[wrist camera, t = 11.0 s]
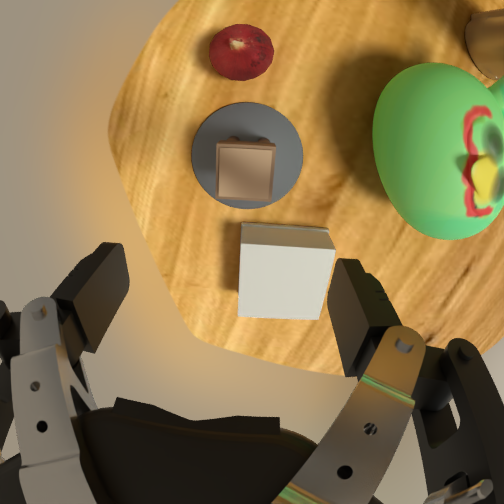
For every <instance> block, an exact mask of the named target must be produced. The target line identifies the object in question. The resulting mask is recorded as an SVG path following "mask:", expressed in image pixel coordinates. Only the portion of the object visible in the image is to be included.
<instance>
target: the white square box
mask: <svg viewBox="0 0 504 504" xmlns="http://www.w3.org/2000/svg"><path fill="white" fill-rule="evenodd" d="M335 252H336V249H335V247H334V245H333V242H332V240H331V238H330V236H329V229H328V228H320V227H307V226H294V225H280V224H266V223H251V222H242V224H241V244H240V266H239V290H238V295H239V300H238V316H240V317H257V318H278V319H308V320H318V319H319V315H320V312H321V308H322V304H323V301H324V297H325V293H326V289H327V285H328V281H329V277H330V273H331V269H332V265H333V261H334V256H335Z"/></svg>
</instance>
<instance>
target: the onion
mask: <svg viewBox="0 0 504 504" xmlns="http://www.w3.org/2000/svg"><path fill="white" fill-rule="evenodd" d="M273 55H274V48H273V45H272V42H271V39H270V37H269V36H268V35H267V34H266V33H265V32H263V31H262V30H261V29H259V28H257V27H254V26H251V25H248V24H235V25H232V26H229V27H226V28H224V29H223V30H222V31H220V32H219V33H217V34H216V35H215V36H214V38H213V40H212V42H211V43H210V50H209V57H210V60H211V63H212V66H213V67H214V68H215V69H216V70H217V72H218V73H219V74H220V75H222V76H224V77H226V78H228V79H230V80H238V81H245V80H249V79H253V78H256V77H257V76H259V75H261V74H262V73H264V72H265V71H266V70H267V68H268V67H269V66H270V64H271V63H272V60H273Z"/></svg>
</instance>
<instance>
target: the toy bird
mask: <svg viewBox="0 0 504 504" xmlns="http://www.w3.org/2000/svg"><path fill="white" fill-rule="evenodd" d="M372 139H373V151H374V157H375V162H376V167H377V170H378V174H379V177H380V179H381V182H382V185H383V187H384V189H385V191H386V194H387V196H388V197H389V199H390V201H391V203H392V204H393V206H394V207H395V209H396V210H397V212H398V213H399V214H400V215H401V216H402V218H403V219H404V220H405V221H406V222H407V223H408V224H409V225H411V226H412V227H413V228H415V229H416V230H418V231H419V232H421V233H423V234H425V235H427V236H430V237H433V238H437V239H443V240H458V239H463V238H467V237H470V236H473V235H475V234H477V233H479V232H480V231H482V230H483V229H485V228H486V227H487V226H488V225H489V224H490V223H491V222H492V221H493V220H494V219H495V218H496V216H497V215H498V214H499V212H500V211H501V209H502V207H503V206H504V75H503V76H502V77H501V78H500V79H499V80H498V81H497V82H495V83H494V84H493V85H492V86H491V87H489V88H486V87H485V86H484V85H483V84H482V83H481V82H480V81H479V80H478V79H477V78H475V77H474V76H473V75H471V74H470V73H468V72H466V71H464V70H462V69H460V68H458V67H455V66H452V65H448V64H443V63H423V64H418V65H414V66H411V67H409V68H407V69H405V70H403V71H401V72H400V73H398V74H397V75H396V76H395V77H393V78H392V79H391V80H390V82H389V83H388V84H387V85H386V86H385V88H384V89H383V91H382V93H381V95H380V97H379V99H378V102H377V105H376V108H375V112H374V118H373V129H372Z"/></svg>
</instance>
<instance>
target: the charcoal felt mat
mask: <svg viewBox="0 0 504 504" xmlns="http://www.w3.org/2000/svg"><path fill="white" fill-rule="evenodd" d="M230 136H236V137H238V138H239V140H240V141H252V142H258V140H259V139H260V138H263V137H264V138H267V139H269V140H270V143H275V145H276V155H275V167H274V178H273V190H272V201H271V202H264V201H249V200H231V199H216V200H217V201H219V202H221V203H223V204H225V205H228V206H230V207H234V208H240V209H255V208H261V207H265V206H267V205H270V204H272V203H274V202H276V201H278V200H279V199H281V198H282V197H283V196H285V195H286V194H287V193H288V192H289V191H290V189H291V188H292V187H293V186H294V184H295V183H296V181H297V179H298V177H299V175H300V172H301V168H302V163H303V149H302V144H301V140H300V138H299V135H298V133H297V131H296V129H295V128H294V126H293V125H292V124H291V122H290V121H289V120H288V119H287V118H286V117H285V116H283V115H282V114H281V113H280V112H278V111H276V110H275V109H273V108H270V107H268V106H265V105H262V104H258V103H237V104H232V105H229V106H226V107H224V108H222V109H220V110H218V111H216V112H215V113H213V114H212V115H211V116H210V117H208V118H207V120H206V121H205V122H204V123H203V124H202V126H201V127H200V128H199V130H198V132H197V134H196V136H195V139H194V142H193V147H192V165H193V169H194V172H195V175H196V177H197V179H198V181H199V183H200V184H201V186H202V187H203V188H204V190H205V191H206V192H207V193H208V194H209V195H210V196H212V197H213V198H214V199H215V190H216V146H217V143H218V142H219V141H220V140H227V139H228V138H229V137H230Z"/></svg>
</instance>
